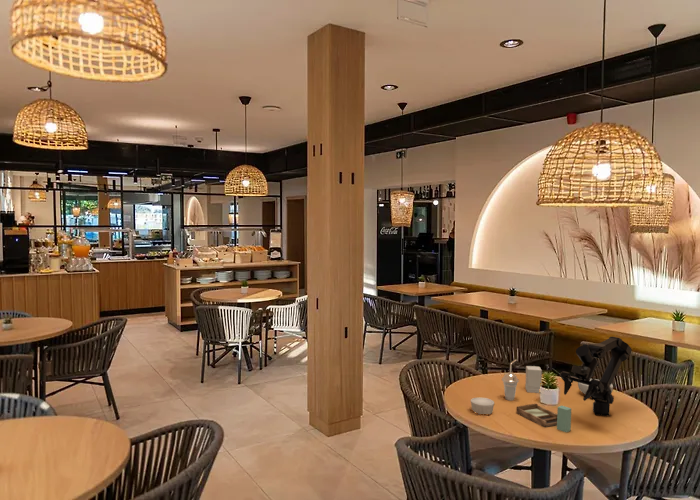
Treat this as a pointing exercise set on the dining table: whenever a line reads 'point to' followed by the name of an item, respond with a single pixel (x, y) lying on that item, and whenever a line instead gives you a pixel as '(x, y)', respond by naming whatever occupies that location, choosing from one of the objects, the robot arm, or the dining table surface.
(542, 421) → the tray
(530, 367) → the supplement box
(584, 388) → the cereal bowl
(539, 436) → the dining table surface
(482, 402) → the ramekin
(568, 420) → the block
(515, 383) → the cup with straw
